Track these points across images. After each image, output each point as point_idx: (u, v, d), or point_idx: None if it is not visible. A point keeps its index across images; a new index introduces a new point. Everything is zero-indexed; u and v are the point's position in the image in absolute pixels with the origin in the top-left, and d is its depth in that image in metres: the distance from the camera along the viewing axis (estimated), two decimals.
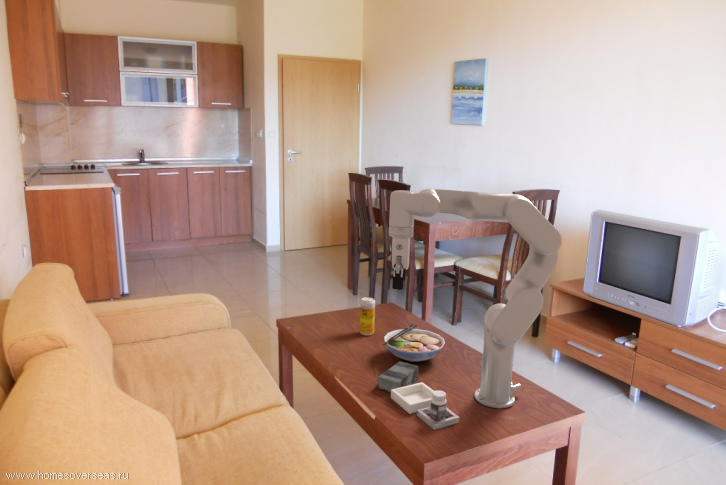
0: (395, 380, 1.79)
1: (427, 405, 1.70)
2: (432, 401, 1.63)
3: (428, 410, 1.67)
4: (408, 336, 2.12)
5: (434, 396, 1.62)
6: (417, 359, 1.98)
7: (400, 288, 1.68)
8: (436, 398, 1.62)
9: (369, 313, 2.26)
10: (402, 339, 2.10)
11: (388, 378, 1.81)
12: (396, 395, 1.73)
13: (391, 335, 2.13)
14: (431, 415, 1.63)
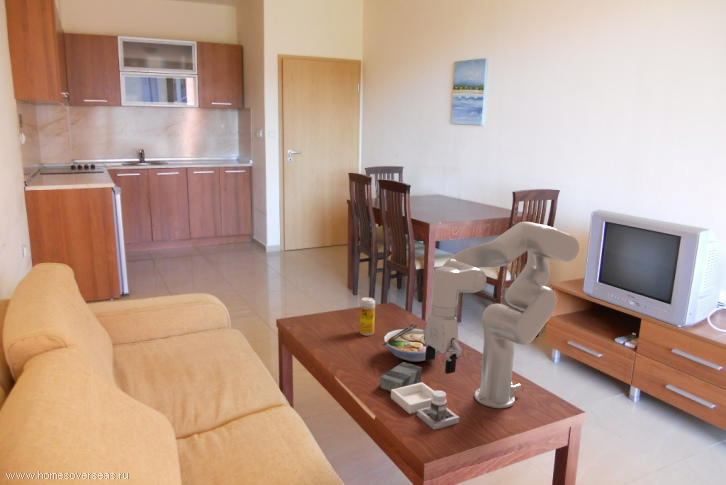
0: (397, 381, 1.79)
1: (427, 405, 1.70)
2: (432, 401, 1.63)
3: (428, 410, 1.67)
4: (408, 336, 2.12)
5: (434, 396, 1.62)
6: (417, 359, 1.98)
7: None
8: (436, 398, 1.62)
9: (369, 313, 2.26)
10: (402, 339, 2.10)
11: (390, 378, 1.80)
12: (396, 395, 1.73)
13: (391, 335, 2.13)
14: (431, 415, 1.63)
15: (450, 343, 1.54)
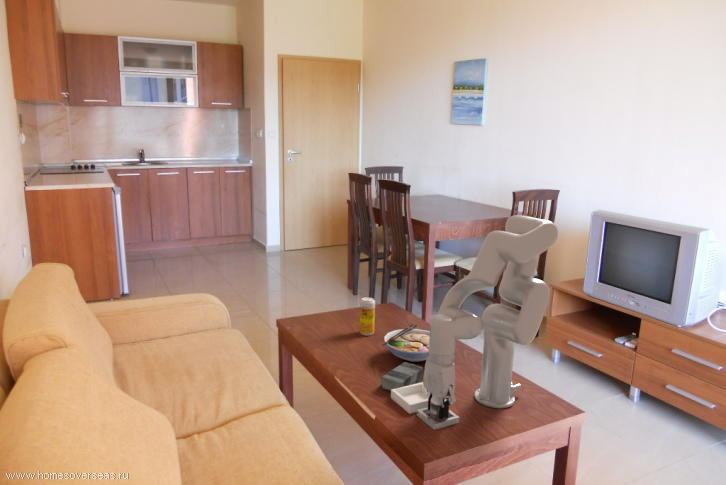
0: (398, 380, 1.79)
1: (427, 405, 1.70)
2: (432, 401, 1.63)
3: (428, 410, 1.67)
4: (408, 336, 2.12)
5: (434, 396, 1.62)
6: (417, 359, 1.98)
7: None
8: (436, 398, 1.62)
9: (369, 313, 2.26)
10: (402, 339, 2.10)
11: (391, 378, 1.81)
12: (396, 395, 1.73)
13: (391, 335, 2.13)
14: (431, 415, 1.63)
15: (447, 394, 1.58)
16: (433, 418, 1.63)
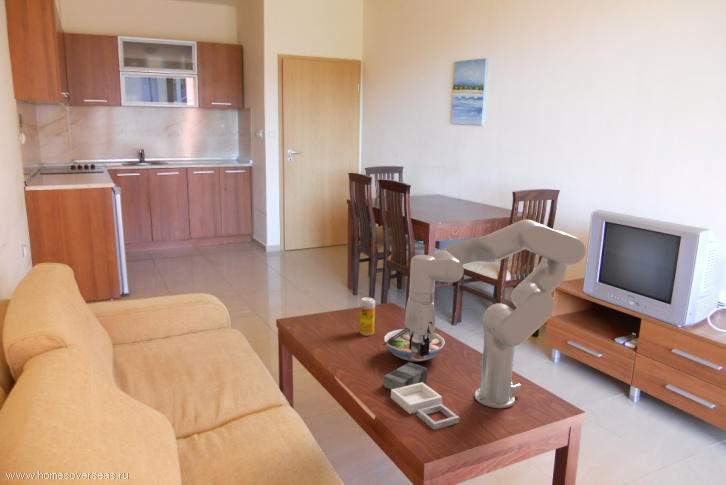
0: (399, 380, 1.79)
1: (427, 405, 1.70)
2: (413, 339, 1.69)
3: (428, 410, 1.67)
4: (408, 336, 2.12)
5: (415, 334, 1.69)
6: None
7: None
8: (417, 336, 1.68)
9: (369, 313, 2.26)
10: (402, 339, 2.10)
11: (393, 378, 1.81)
12: (396, 395, 1.73)
13: (391, 335, 2.13)
14: (412, 353, 1.70)
15: (427, 331, 1.65)
16: (414, 356, 1.70)
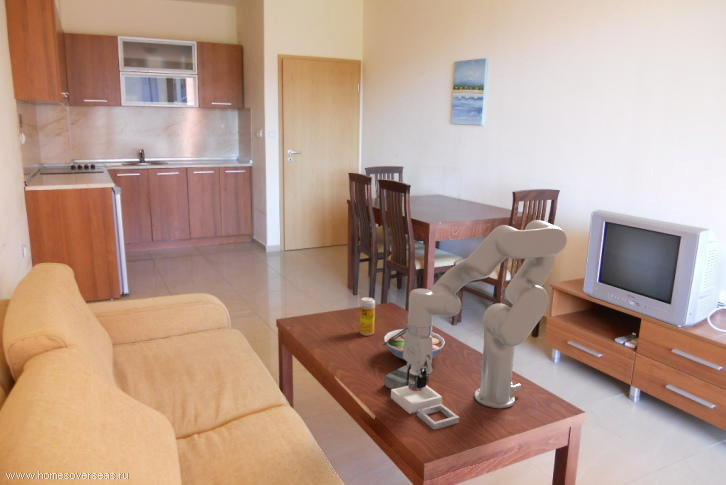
0: (400, 380, 1.79)
1: (427, 405, 1.70)
2: (410, 371, 1.72)
3: (428, 410, 1.67)
4: None
5: (412, 367, 1.71)
6: None
7: None
8: (414, 368, 1.70)
9: (369, 313, 2.26)
10: (402, 339, 2.10)
11: (394, 377, 1.81)
12: (396, 395, 1.73)
13: (391, 335, 2.13)
14: (409, 385, 1.72)
15: (424, 364, 1.67)
16: (411, 388, 1.72)
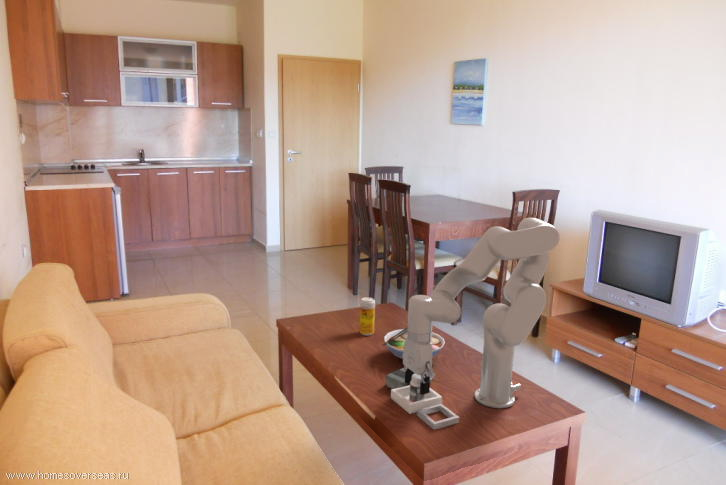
0: (401, 380, 1.80)
1: (427, 405, 1.70)
2: (411, 383, 1.72)
3: (428, 410, 1.67)
4: None
5: (413, 378, 1.72)
6: None
7: None
8: (415, 380, 1.71)
9: (369, 313, 2.26)
10: (402, 339, 2.10)
11: (395, 377, 1.81)
12: (396, 395, 1.73)
13: (391, 335, 2.13)
14: (410, 397, 1.73)
15: (425, 367, 1.67)
16: (412, 399, 1.73)
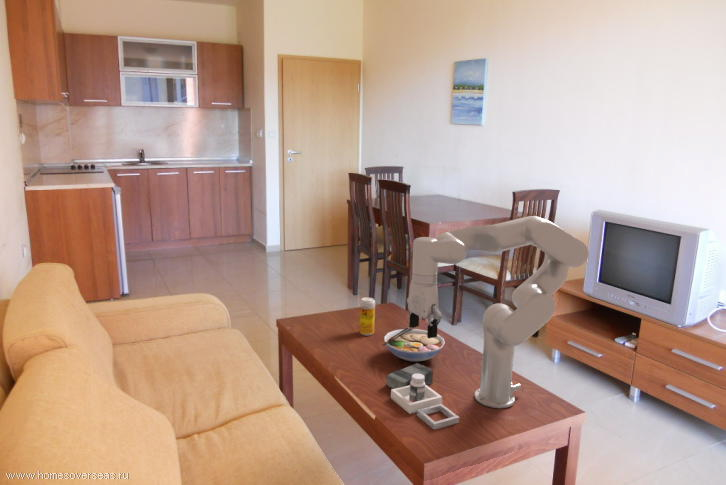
0: (401, 380, 1.80)
1: (427, 405, 1.70)
2: (411, 383, 1.72)
3: (428, 410, 1.67)
4: (408, 336, 2.12)
5: (413, 378, 1.72)
6: (417, 359, 1.98)
7: None
8: (415, 380, 1.71)
9: (369, 313, 2.26)
10: (402, 339, 2.10)
11: (396, 377, 1.81)
12: (396, 395, 1.73)
13: (391, 335, 2.13)
14: (410, 397, 1.73)
15: (431, 309, 1.63)
16: (412, 399, 1.73)
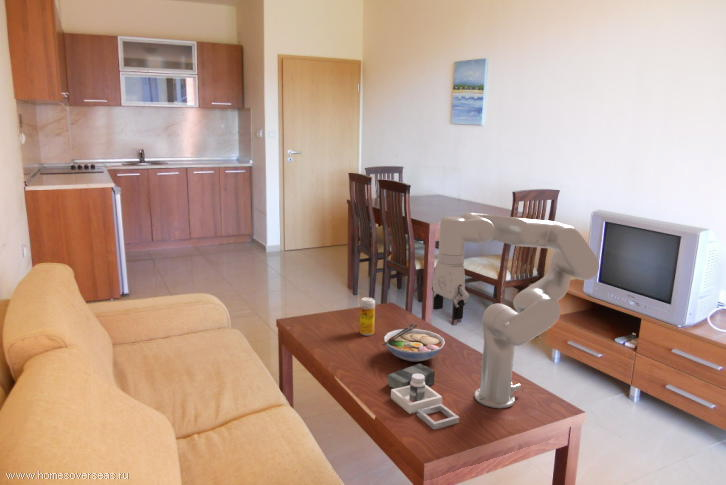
0: (402, 380, 1.80)
1: (427, 405, 1.70)
2: (411, 383, 1.72)
3: (428, 410, 1.67)
4: (408, 336, 2.12)
5: (413, 378, 1.72)
6: (417, 359, 1.98)
7: None
8: (415, 380, 1.71)
9: (369, 313, 2.26)
10: (402, 339, 2.10)
11: (396, 377, 1.82)
12: (396, 395, 1.73)
13: (391, 335, 2.13)
14: (410, 397, 1.73)
15: (457, 289, 1.60)
16: (412, 399, 1.72)
